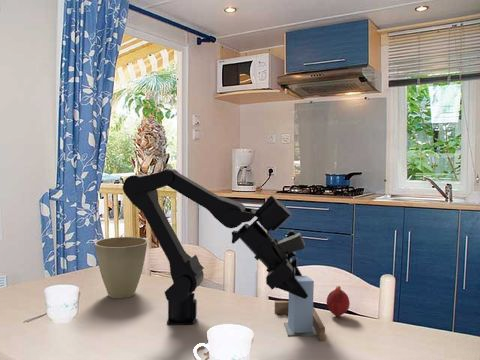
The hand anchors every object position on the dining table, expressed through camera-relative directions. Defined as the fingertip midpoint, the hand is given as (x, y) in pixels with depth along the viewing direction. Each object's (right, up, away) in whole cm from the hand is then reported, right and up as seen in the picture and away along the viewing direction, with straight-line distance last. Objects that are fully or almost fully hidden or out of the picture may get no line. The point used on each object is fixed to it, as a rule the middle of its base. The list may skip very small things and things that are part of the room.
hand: (306, 292), depth 95 cm
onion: (+9, -9, +9) cm, 16 cm away
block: (-2, -9, 0) cm, 9 cm away
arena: (-2, -9, +3) cm, 10 cm away
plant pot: (-51, -8, +25) cm, 57 cm away
